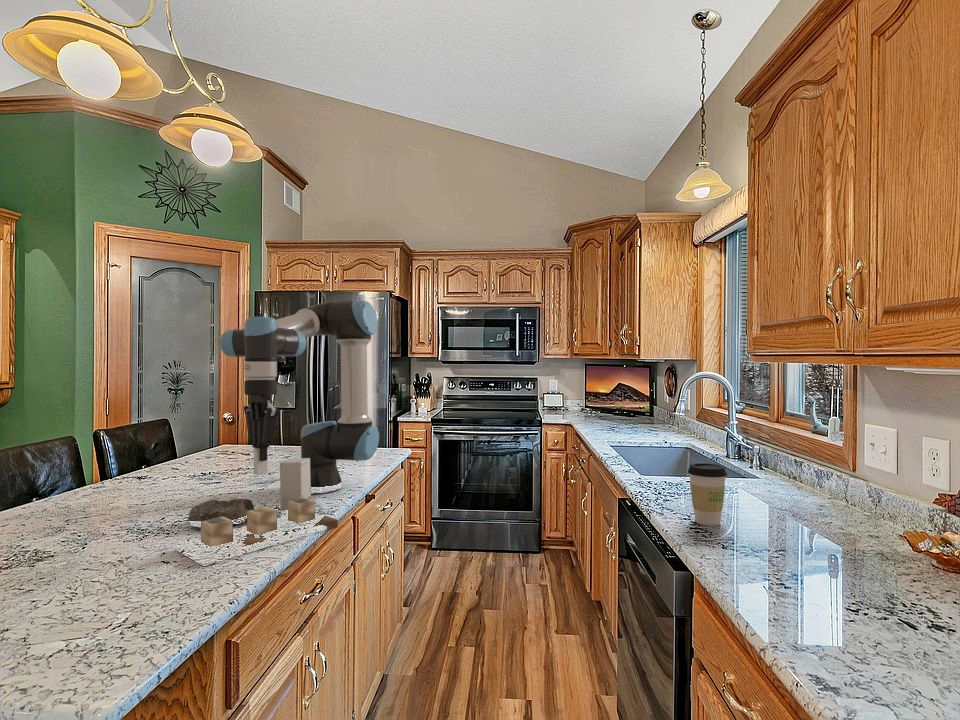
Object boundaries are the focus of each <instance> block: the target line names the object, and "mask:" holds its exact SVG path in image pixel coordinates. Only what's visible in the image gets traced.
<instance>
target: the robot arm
mask: <svg viewBox="0 0 960 720" xmlns="http://www.w3.org/2000/svg"><path fill="white" fill-rule="evenodd" d="M378 323H379V322H378V316H377V313H376V310H375V308H374V306H373V305H372V304H371V303H370V302H369V301H368V300H367V301H366V300H357V299H356V300H355V299H354V300H343V301H339V300H338V301H325V302H321V303H317V304H313V305H311V306H308V307H305V308H300V309H299V310H297V312H295V314H291V315H287V316H284V317H281V318H277V319H275V317H271V316H270V317H269V316H250V317H247V318H246V319H245V321H244V328H241V329H236V328H234V329H227V330H225V331H224V332H223V333H222V334H221V335H220V339H219V344H220V349H221V352H222V353H223V354H224V355H225V356H228V357H233V358H234V357H236V358H244V365H243V370H244V378H246V380H245V379H244V382H243V384H244V386H243V387H244V388H243V390H244V391H243V393H244V395H245V396H249V400H248V405H244V407H243V412H244V415H245V421H246V430H247V439H248V444H249V445H251V446H252V448H253V474H254V475H256V476H260V475H264V474H268V448H269V447H270V446H273V445H274V439H275V432H276V431H275V430H276V423H277V417H278V414H279V411H280V410H279V407H275V406H274V405H273V403H274V401H273V397H272V396H273V395H276V394H277V393H278V381H277V380H276V379H275V378H277V377H278V361H277V360H278V359H277V357H288V358H289V357H290V358H292V357H293V358H294V357H298V356H300V355H302V354H303V353H304V351H305V350H306V347H307V338H312V337H314V336H335V340H336V342H337V344H339V345H340V372H341V374H340V379H341V381H340V382H341V385H340V387H341V388H340V389H341V416H340V418H339V419H338V420H337V422H336V420H328V421H321V422H320V421H319V422H313V423H308V424H305V425H302V428H301V432H300V454H301V455H300V458H310V482H311V487H325V486H333V485H337V484H339V483H341V482H343V481H342V478H341V475H340V473H339V470H338V467H337V461H342V460H343V461H355V462H359V461H369V460H371V458H373V456H374V455H375V454H376V452H377V449H378V447H379V442H380V432H379V429H378V427H377V426H375V425H373V419H372V418H371V417H370V416H369V415H368V412H369V411H368V407H369V406H368V351H367V350H368V349H367V348H368V347H367V346H368V344H370V342H372V336H373V335H375V334H376V333H377V330H378V326H379V324H378Z"/></svg>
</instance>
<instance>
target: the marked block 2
mask: <svg viewBox="0 0 960 720" xmlns="http://www.w3.org/2000/svg"><path fill="white" fill-rule="evenodd" d="M315 513H316V500H314V499H312V498H311V499H308V498H301V499H296V500H292V501H288V520H290V521H293V522H296V523H298V524H299V523H303V522H306V521H310V520H313V519H315Z"/></svg>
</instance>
